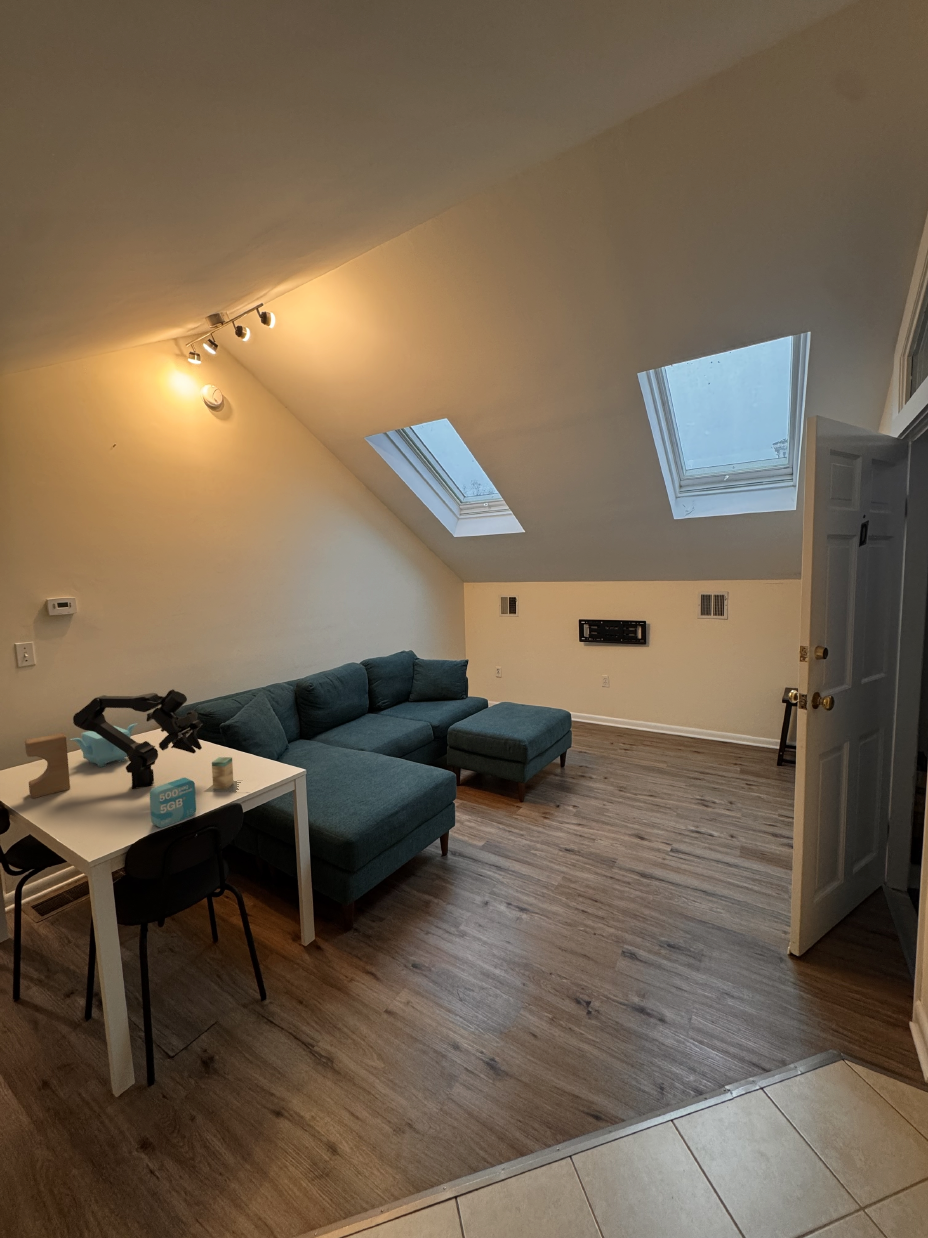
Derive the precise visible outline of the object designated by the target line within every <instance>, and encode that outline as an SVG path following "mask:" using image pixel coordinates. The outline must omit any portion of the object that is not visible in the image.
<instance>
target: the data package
mask: <svg viewBox="0 0 928 1238" xmlns="http://www.w3.org/2000/svg"><path fill="white" fill-rule="evenodd" d="M149 804H150V805H149V806H150V819H151V823H152V824H153V825H155V826H157V827H158V828H161V829H162V828H165V827H168V826H170V825H172V824H176V823H177V822H180V821H183V820H186V819H188V818H190V817H192V816H194V815H195V814H196V812H197V801H196V784H195V782H194V781H193V780H191V779H189V778H188V777H181V778H179V779H176V780H172V781H170V782H169V781H168V782H167V783H163V784H160V785H157V786H155V787H153V788H151V790H150V791H149Z"/></svg>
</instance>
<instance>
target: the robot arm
mask: <svg viewBox="0 0 928 1238" xmlns="http://www.w3.org/2000/svg"><path fill="white" fill-rule="evenodd" d="M187 701H188V698H187V696H186V694H184V693H182V692H180V691H177V690H175V689H174V688H173V689H170V690H169V691H168V692H167V693H166V694H165V695H164V696H163V695H159V694H158V693H155V692H151V693H144V694H141V695H136V696H135V695H134V696H133V695H131V696H130V695H129V696H127V695H125V696H124V695H104V694H103V695H100V696H97V697H94V698H93V699H92V700H91V701H90V702H89V703H88V704H87V705H85V706H84V707H82V709H80V710H79V711H77V712H76V713H74V715H73V716H72V721H73V722H72V723H73V724H74V726H75V727H77V728H79V729H81V730H84V731H86V732H88V731H93V732H96V733H97V734H98V735H100V736H101V737H103V738H104V739H106V740H107V741H109V742H110V743H112V744H113V745H115V746H116V747H118V748H119V749H121V750H122V751H124V752H125V753H126V754H127V756H128V757H127V759H128V761H129V763H128V764H127V765H126V766H125V770H126V772H127V773H128V774H129V773H130V774H131V789H133V790H134V789H140V788H145V787H149V786H150V787H151V786H153V785H154V783H153V782H154V781H155V777H154V769H153V768H152V766H153V765H155V764H156V761H157V760H158V758H159V750H158V749H157V748H156V745H153V744H151V742H149V741H148V740H144V741H143V742H138V741H135V739H133V738H131V737H128V736H127V735H125V734H124V733H123V732H121V731H120V730H118V729H117V728H115V727H114V726H115V725H112V724H110V723H109V722H107V720H106V716H105V715H104V712H105V711H106V709H112V708H113V709H132V710H133V711H135V712H140V713H147V712H149V711H151V710H152V711H151V712H149V713H147V714H146V722H150V721H152V720H153V721H154V722H155V723H156V724H157V725H158V726H159V727H160V728H161V729H160V731H161V732H162V733H163V732H165V733H167V734H166V735H165V737H164V738H163V739H162V740H161V741H160V742H159V743H158V748H159V749H160V750H161V751H163V752H164V751H165V750H167V749H168V748H169V747H170V748H171V749H177V750H180V751H184V752H187V753H189V754H190V753H191V754H195V753H196V752H197V750H199V751H201V749H203V748H202V745H201V743H200V741H199V738H198V735H197V732H198V730H199V729H200V728H201V727H202V726H203V724H204V723H203V722H201V720H198V715H199V714H198V713H197V712H196V711H195V710H190V711H188V712H186V715H185V716H184V717H182V716H181V715H177V716H176V715H175V714H174V713H177V712H178V711H179V710H180V709H181V708H182V707H183V706H184V704H186V703H187ZM170 745H172V746H170Z"/></svg>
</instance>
